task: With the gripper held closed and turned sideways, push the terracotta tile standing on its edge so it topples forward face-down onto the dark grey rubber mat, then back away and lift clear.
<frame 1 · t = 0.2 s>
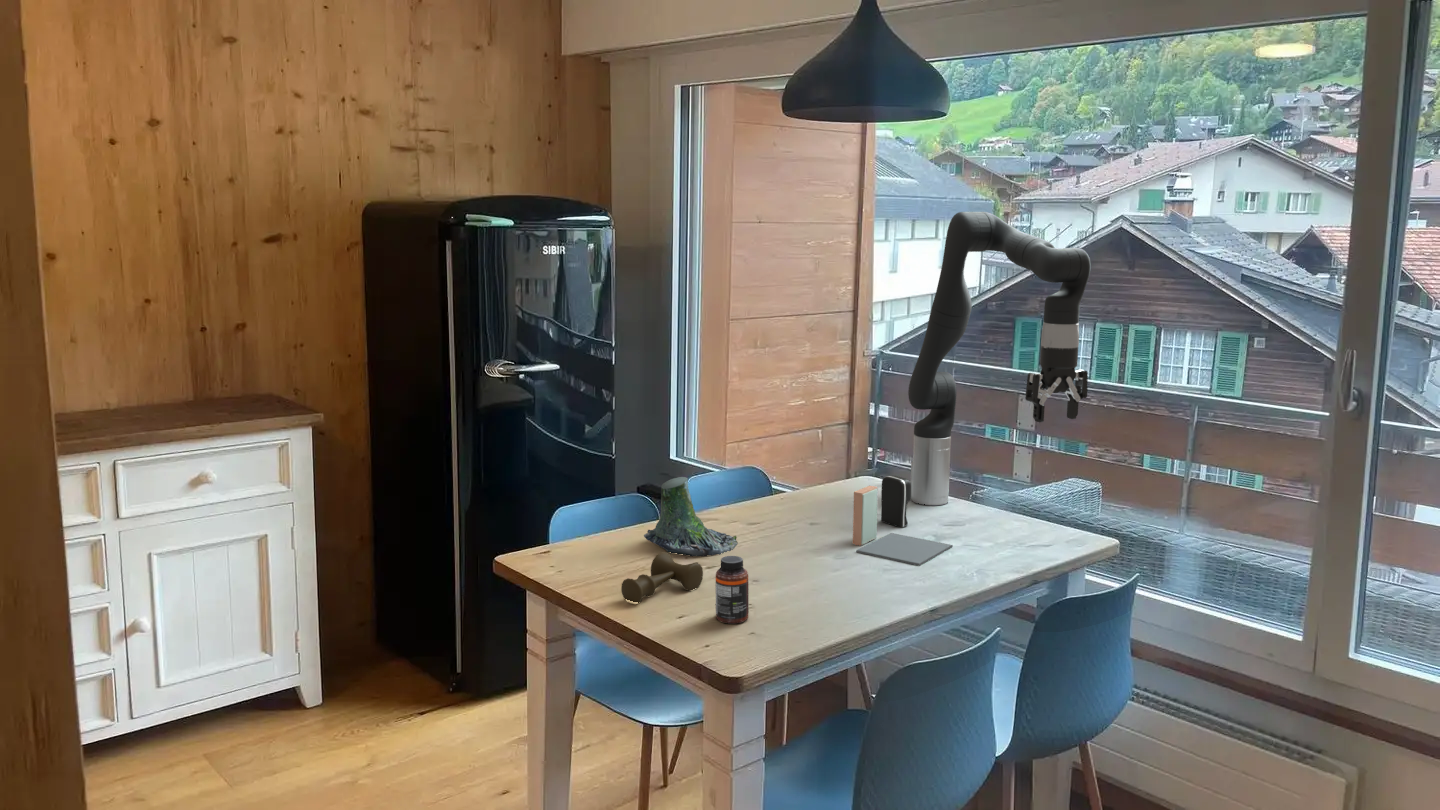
hand: (1055, 420, 224), 29 cm above the table, tool pointing down, fingers open, 8 cm apart
battery charger: (895, 524, 250), on the table
mat: (904, 549, 230), on the table
supplement bottle: (732, 619, 190), on the table
tile: (864, 541, 236), on the table
kendama: (664, 591, 205), on the table
tree stump: (691, 546, 233), on the table
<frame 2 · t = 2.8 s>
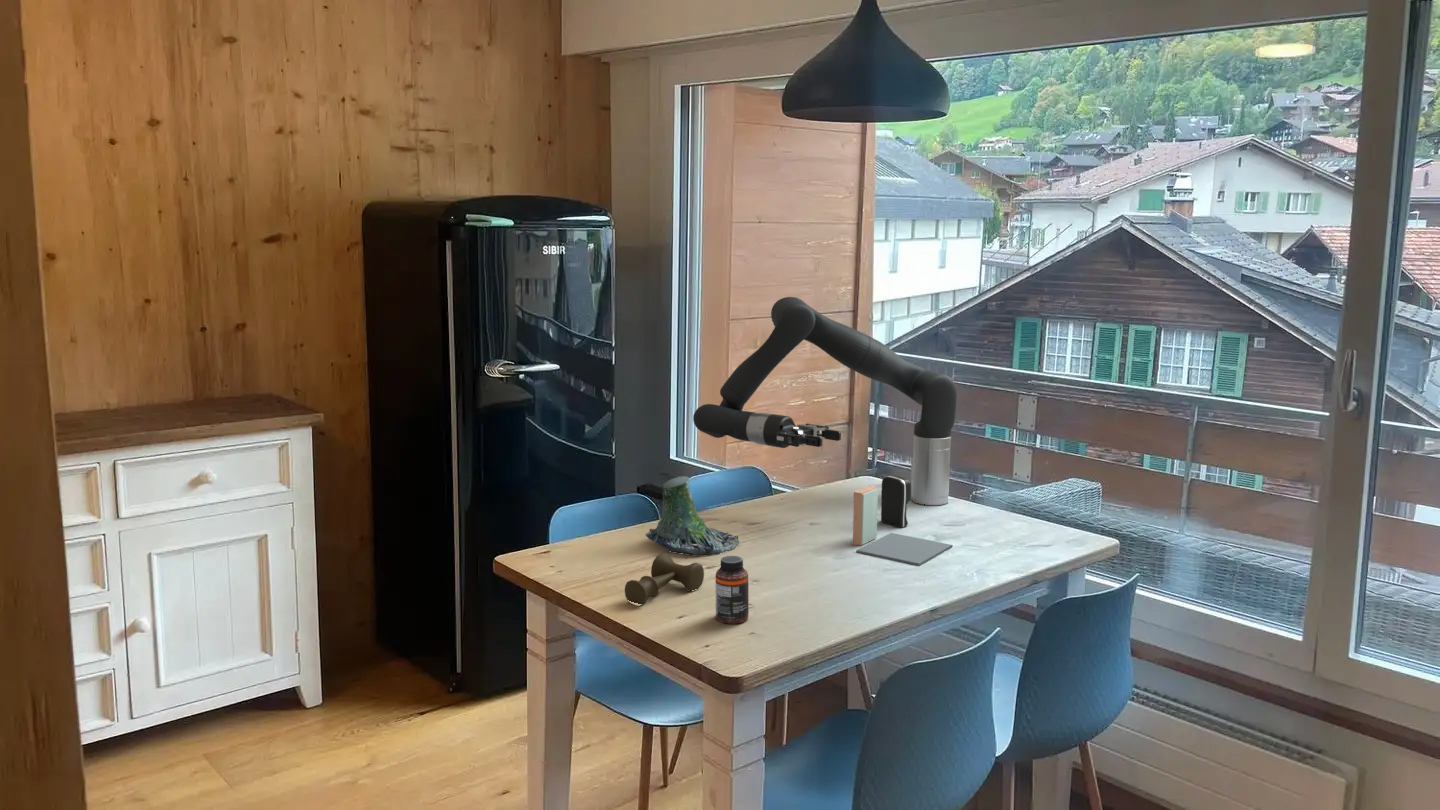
hand: (831, 439, 238), 22 cm above the table, tool horizontal, fingers open, 8 cm apart
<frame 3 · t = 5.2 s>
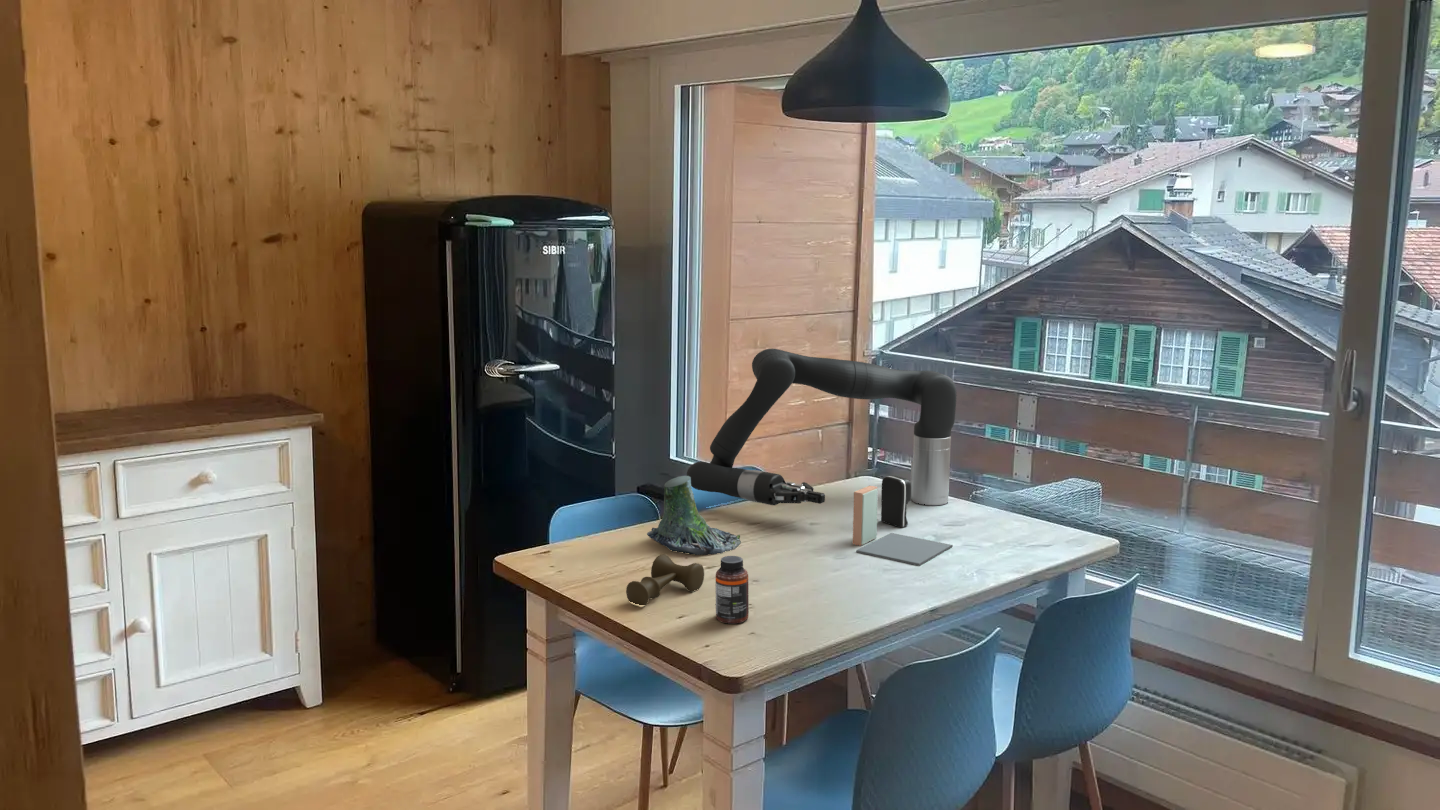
hand: (823, 498, 241), 8 cm above the table, tool horizontal, fingers closed
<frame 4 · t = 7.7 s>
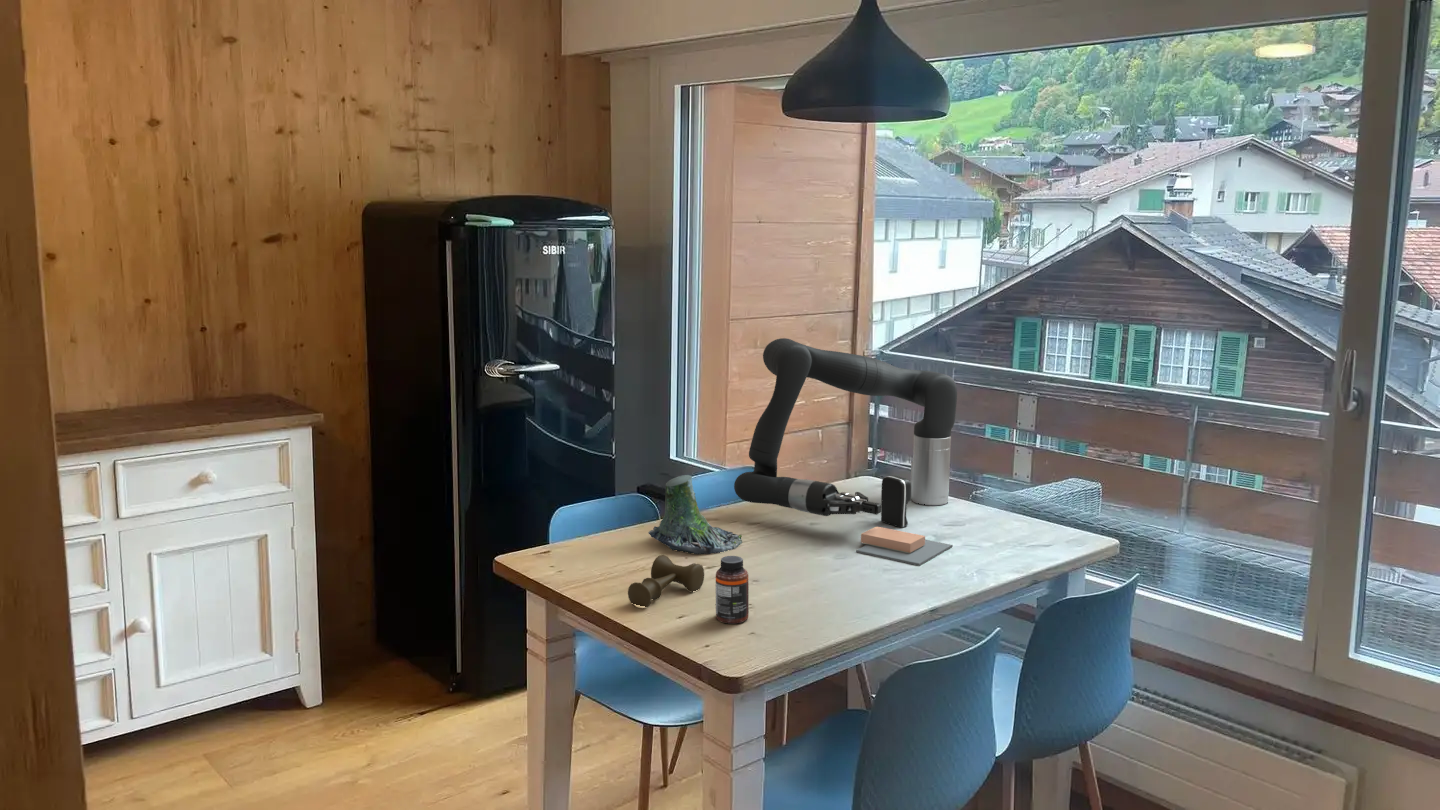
hand: (879, 509, 233), 8 cm above the table, tool horizontal, fingers closed
tile: (868, 534, 235), point 2 cm above the table, tilted 90°, touching mat
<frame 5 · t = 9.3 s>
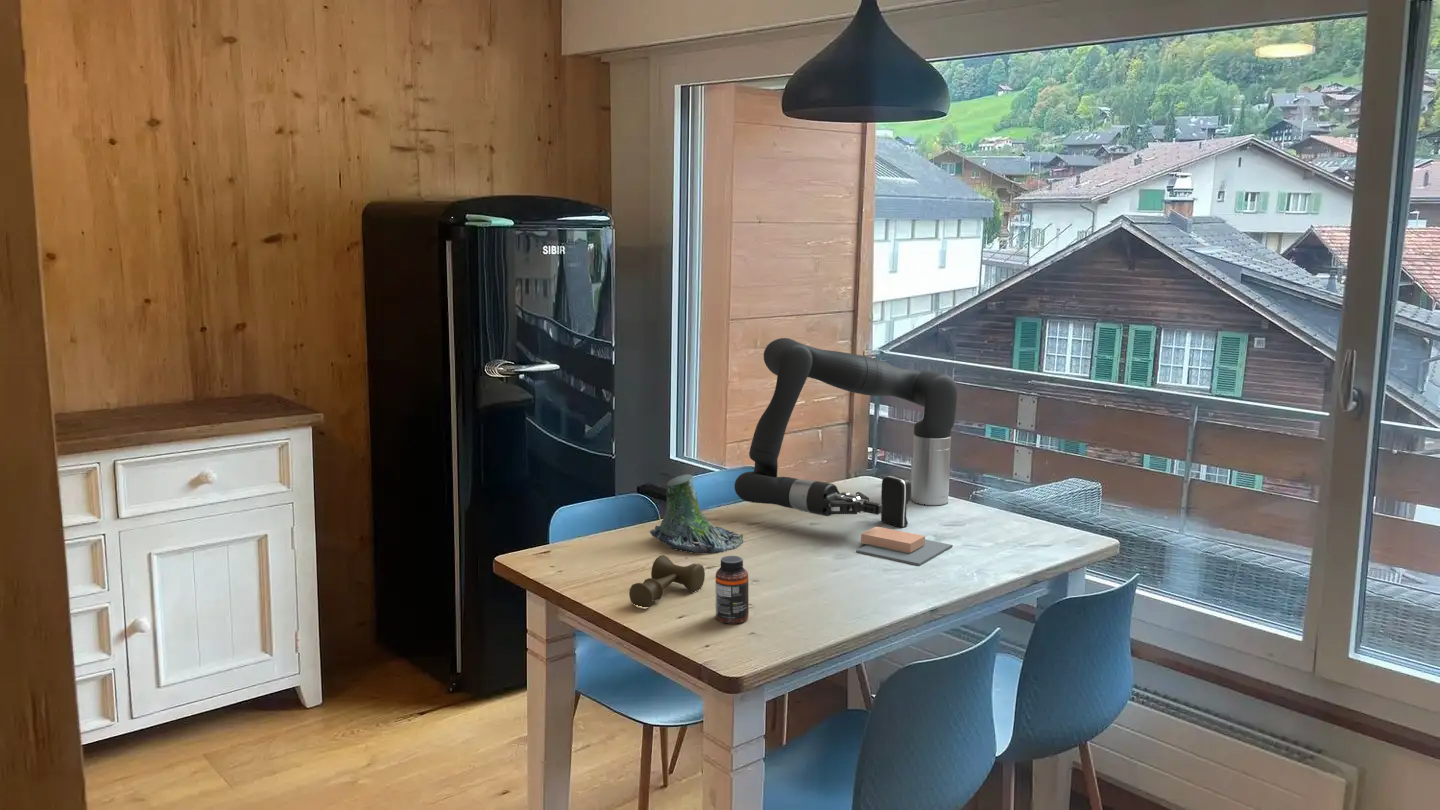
hand: (880, 509, 232), 8 cm above the table, tool horizontal, fingers closed
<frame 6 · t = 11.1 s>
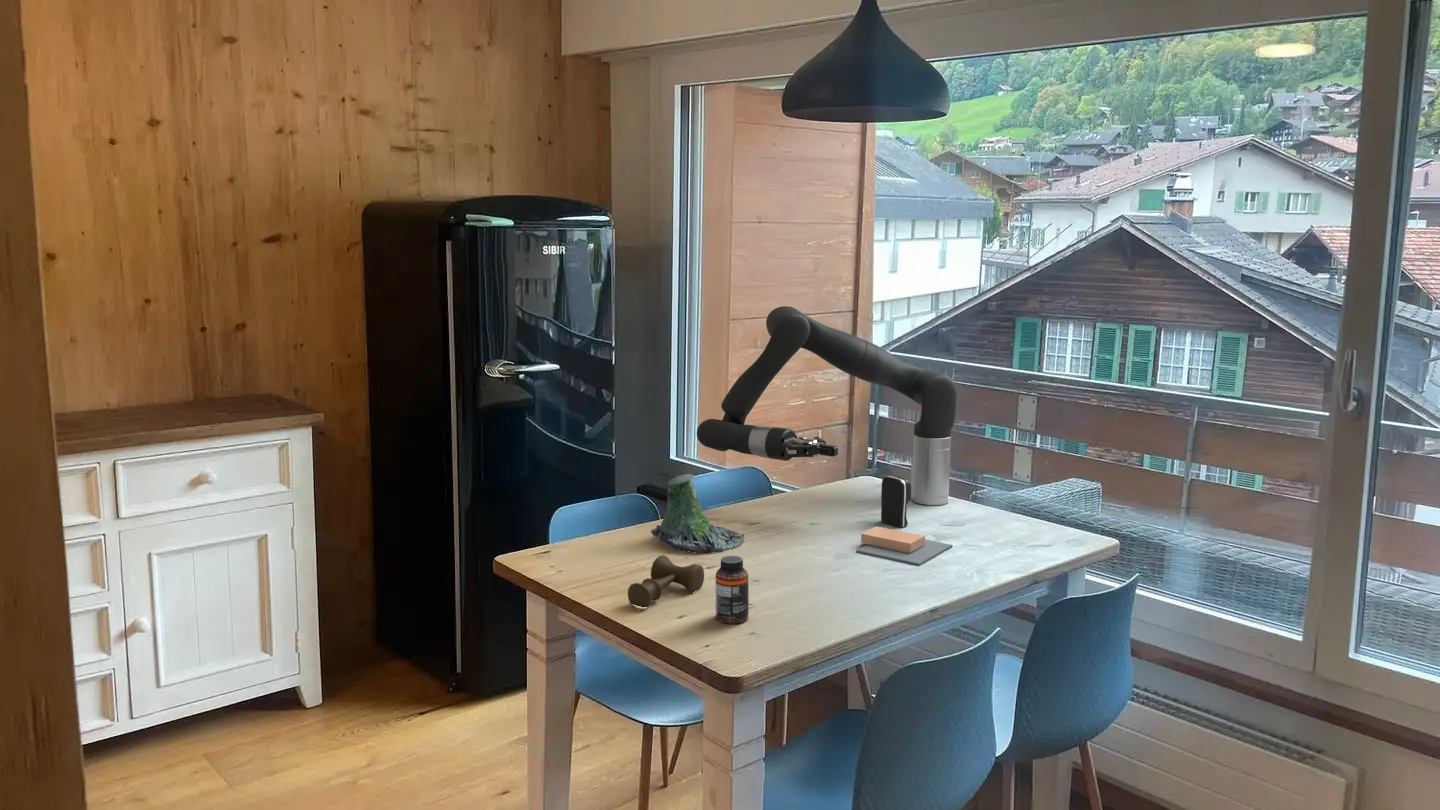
hand: (836, 451, 237), 19 cm above the table, tool horizontal, fingers closed
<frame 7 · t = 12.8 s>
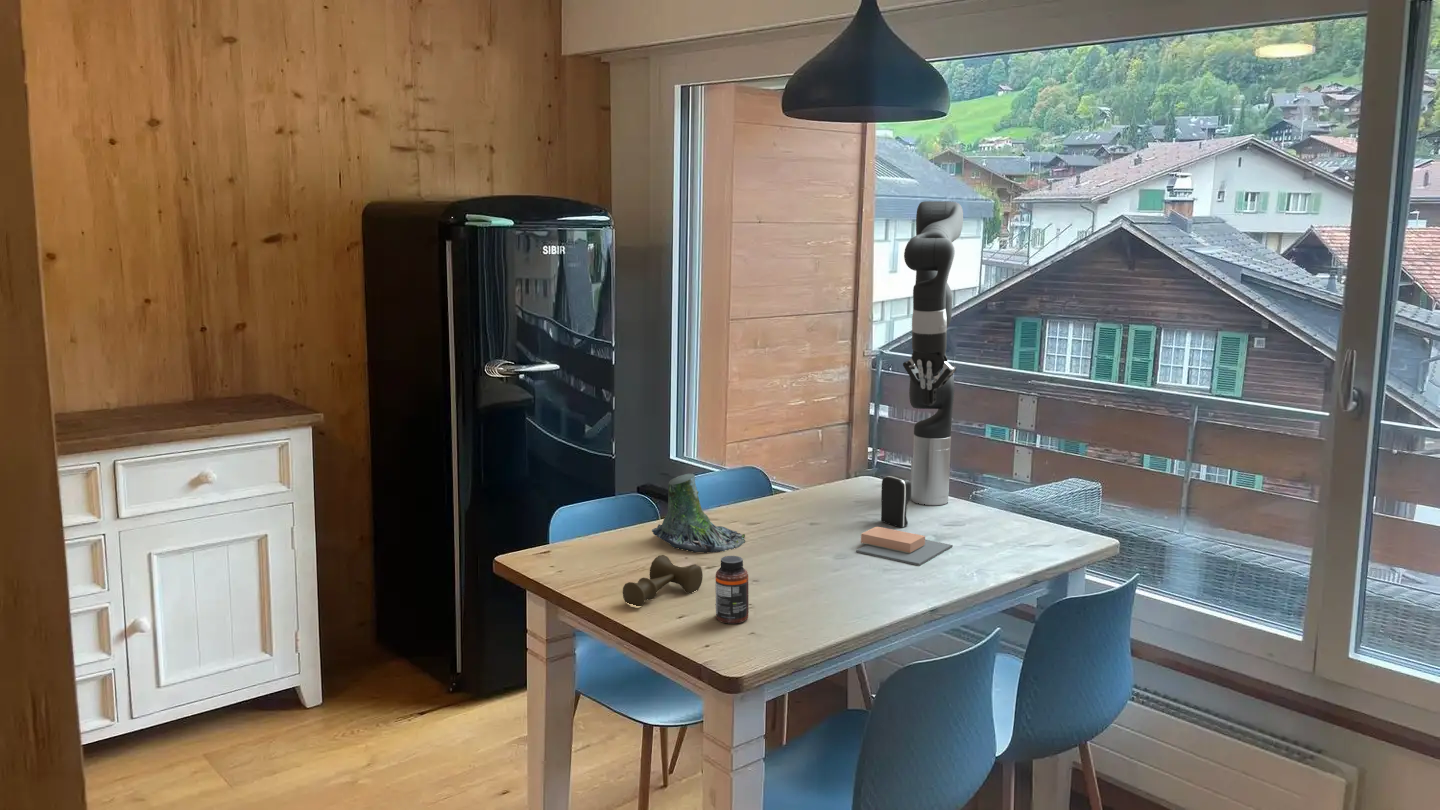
hand: (929, 404, 237), 30 cm above the table, tool pointing down, fingers closed
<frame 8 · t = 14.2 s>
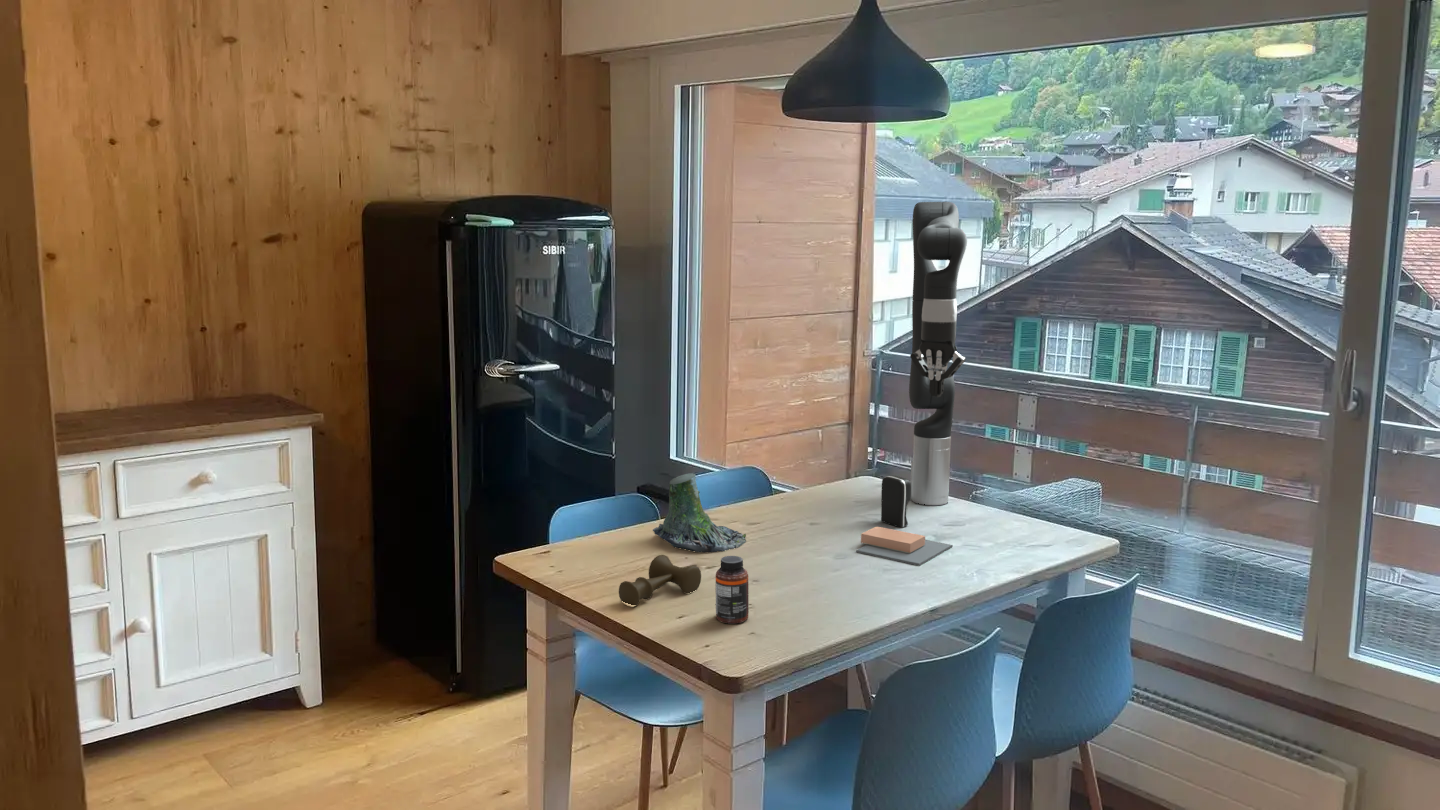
hand: (936, 396, 236), 32 cm above the table, tool pointing down, fingers closed
at the end: tile tilted 90°; tile touching mat; the gripper is holding nothing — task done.
